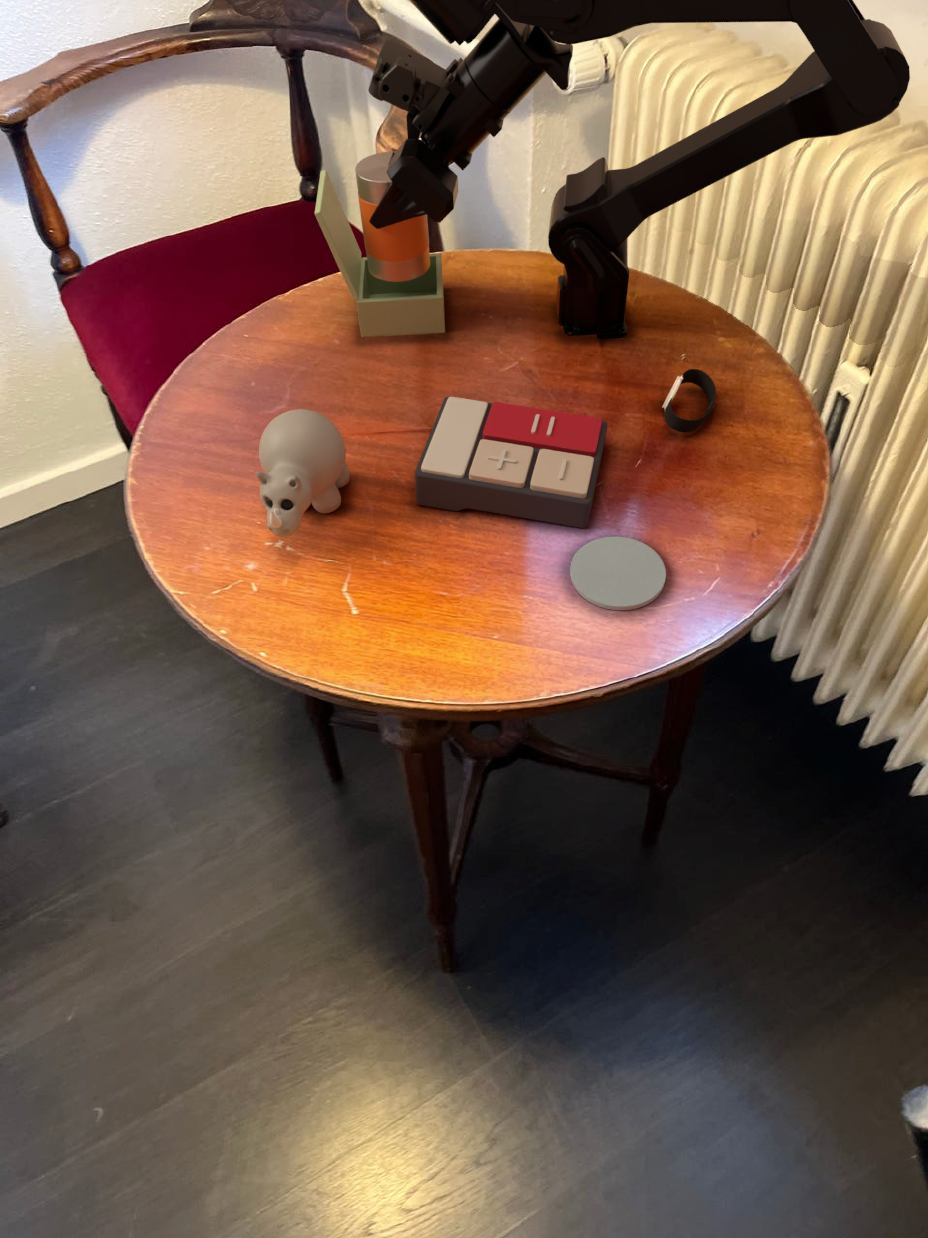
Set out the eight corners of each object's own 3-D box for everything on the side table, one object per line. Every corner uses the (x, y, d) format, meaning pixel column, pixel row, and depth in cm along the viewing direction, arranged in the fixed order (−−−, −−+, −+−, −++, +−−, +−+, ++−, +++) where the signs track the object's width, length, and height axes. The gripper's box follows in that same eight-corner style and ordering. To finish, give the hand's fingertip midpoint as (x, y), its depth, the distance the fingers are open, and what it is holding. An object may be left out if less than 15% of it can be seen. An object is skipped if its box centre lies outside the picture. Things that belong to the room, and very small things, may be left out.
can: (430, 247, 94) (423, 149, 86) (431, 280, 90) (423, 179, 82) (368, 251, 94) (356, 152, 86) (366, 284, 90) (353, 183, 82)
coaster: (656, 538, 74) (657, 533, 74) (673, 608, 69) (674, 603, 69) (565, 542, 74) (565, 538, 74) (575, 613, 69) (576, 609, 69)
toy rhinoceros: (240, 559, 74) (214, 482, 68) (287, 464, 82) (268, 387, 75) (323, 569, 73) (304, 493, 67) (362, 473, 81) (349, 395, 74)
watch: (673, 383, 87) (679, 351, 84) (721, 394, 86) (729, 362, 83) (651, 431, 83) (656, 398, 80) (701, 442, 81) (708, 410, 79)
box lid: (326, 168, 88) (320, 170, 89) (320, 211, 83) (314, 213, 83) (361, 253, 95) (356, 255, 96) (358, 297, 90) (352, 299, 90)
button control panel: (592, 497, 72) (413, 467, 74) (586, 534, 75) (414, 504, 77) (609, 413, 79) (445, 387, 81) (603, 450, 82) (445, 425, 84)
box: (443, 292, 99) (441, 252, 96) (445, 337, 94) (442, 297, 90) (364, 296, 99) (359, 257, 96) (361, 341, 94) (356, 302, 90)
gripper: (434, -27, 80) (333, 105, 89) (401, 50, 68) (289, 193, 78) (521, 70, 85) (416, 185, 95) (504, 158, 73) (387, 279, 83)
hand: (379, 207), depth 87 cm, fingers closed on can, 6 cm apart
